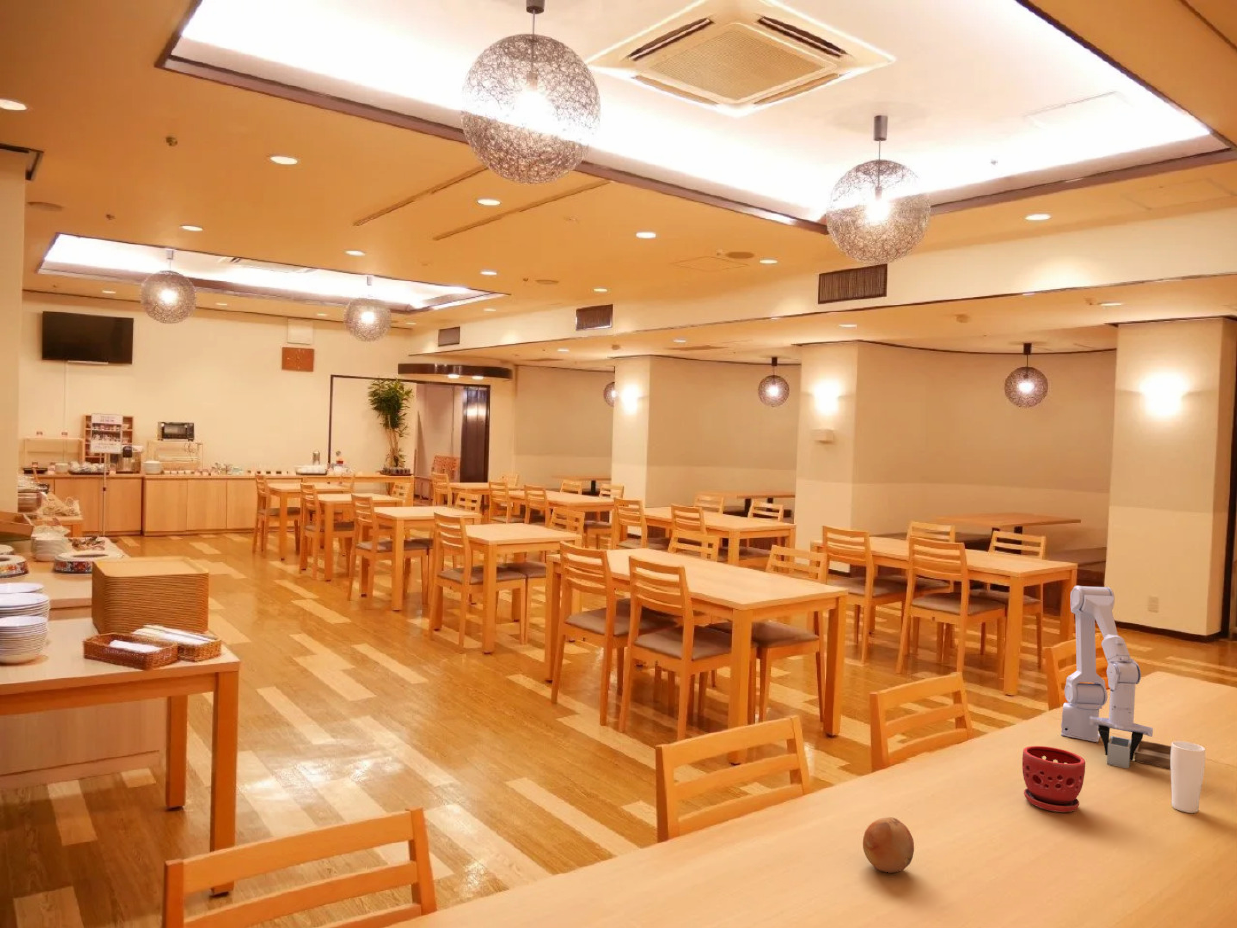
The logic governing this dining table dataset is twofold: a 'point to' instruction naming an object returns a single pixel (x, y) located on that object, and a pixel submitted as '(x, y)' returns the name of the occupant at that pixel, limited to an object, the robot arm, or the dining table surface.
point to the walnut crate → (1153, 754)
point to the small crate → (1119, 752)
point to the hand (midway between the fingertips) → (1119, 756)
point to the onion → (888, 845)
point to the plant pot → (1052, 778)
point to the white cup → (1186, 775)
